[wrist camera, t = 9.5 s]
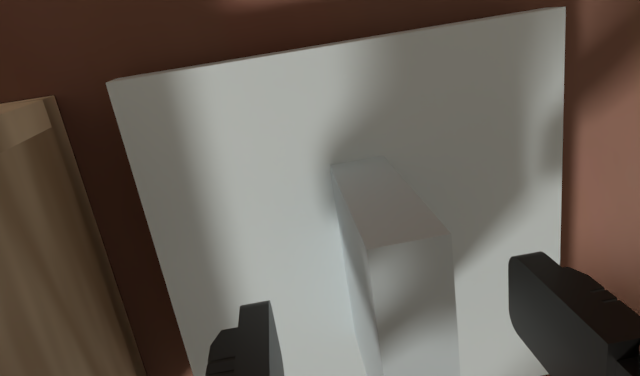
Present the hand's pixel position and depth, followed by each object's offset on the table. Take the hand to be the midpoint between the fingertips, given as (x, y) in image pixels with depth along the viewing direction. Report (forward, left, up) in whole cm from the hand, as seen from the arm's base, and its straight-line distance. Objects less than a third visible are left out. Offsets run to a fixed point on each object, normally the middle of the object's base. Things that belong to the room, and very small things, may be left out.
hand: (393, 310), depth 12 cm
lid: (0, 0, -5) cm, 5 cm away
